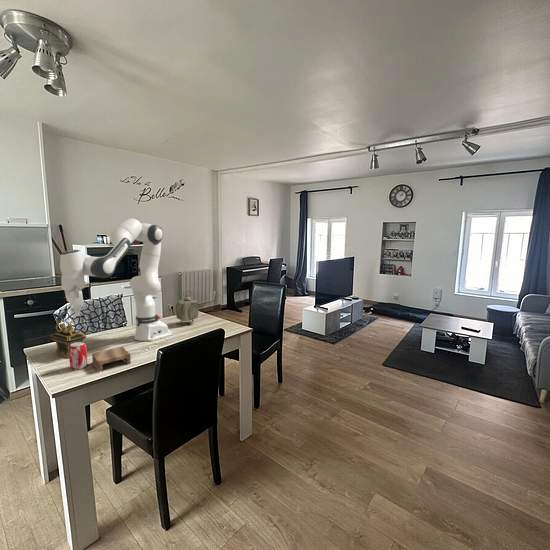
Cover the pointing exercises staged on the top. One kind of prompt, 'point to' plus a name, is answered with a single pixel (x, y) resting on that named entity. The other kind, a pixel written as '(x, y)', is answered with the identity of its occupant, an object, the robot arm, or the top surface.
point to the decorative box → (66, 338)
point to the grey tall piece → (187, 309)
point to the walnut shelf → (110, 357)
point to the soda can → (78, 355)
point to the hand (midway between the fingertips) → (75, 313)
